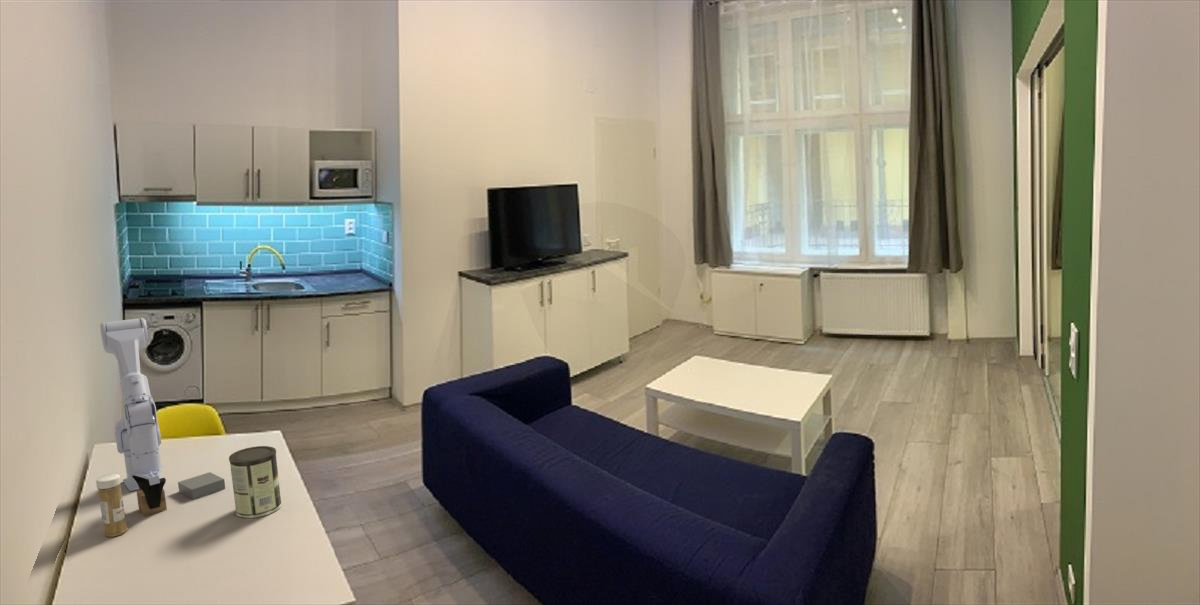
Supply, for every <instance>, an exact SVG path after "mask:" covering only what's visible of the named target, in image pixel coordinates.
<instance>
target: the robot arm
mask: <svg viewBox="0 0 1200 605" xmlns="http://www.w3.org/2000/svg"><path fill="white" fill-rule="evenodd" d="M99 326H100V335H101V336H100V337H101V342H102V345H103V350H104V352H105V353H107V354H113V355H114V356H115V359H116V360H117V364H118V372H119V378H120V389H121V395H122V396H121V397H122V400H123V407H122V415H123V416H122V418H120V419H119V420H118V421H116V423H115V426H114V430H115V432H114V434H115V436H114V437H115V442H116V449H117V452H118V453H119V454H122V455H124V456H123V458H124V464H125V466H124V467H125V471H126V478H124V479H123V480H122V481H123V483H124V484H125V486H126V487H127V489H128V491H129V492H132V491H133V492H134V491H136V490H139V489H142V491H143V493H144V495H145V497H146V501H147V504H148V506H149V508H150V509H154V508H157V507H160V503H161V494H162V489H164V487H165V484H166V481H167V479H166V478H165V477H162V476H161V472H162V470H163V465H162V464H161V455H160V445H161V444H162V435H161V430H160V425H159V422H158V415H157V414H158V413H157V407H156V403H155V401H154V398H153V395H152V394H151V390H150V385H149V380H148V377H147V376H146V375H145V374H143V373H141V363H140V351H141V350H142V349H145V348H147V345H148V339H149V333H148V332H149V331H148V324H147V321H146V319H145V318H144V317H139V318H133V319H131V318H130V319H124V320H123V319H122V320H114V321H107V322H105V321H102V322H101V323H100V325H99Z"/></svg>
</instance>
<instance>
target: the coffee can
mask: <svg viewBox="0 0 1200 605" xmlns="http://www.w3.org/2000/svg"><path fill="white" fill-rule="evenodd" d="M228 461H229V465H230V473H231V474H230V475H231V482H232V490H233V497H234V506H235V515H236V516H237V517H239V518H242V517H243V519H255V518H256V517H257V518H262V517H264V516H268V515H271V514H273V513H275V512H277V511H278V510H279V509H280V508H282V499H281V498H282V497H281V491H280V490H281V489H280V479H279V472H278V471H279V470H278V463H277V449H276V448H275V447H273V446H268V445H261V446H260V445H259V446H251V447H246V448H242V449H239V450H237V451H235V452H233V453H231V454H230V455H229V457H228Z"/></svg>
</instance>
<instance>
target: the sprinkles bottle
mask: <svg viewBox="0 0 1200 605" xmlns="http://www.w3.org/2000/svg"><path fill="white" fill-rule="evenodd" d="M95 481H96V482H95V483H96V488H97V490H98V497H99V506H100V507H99V508H100V512H101V519H102V520H101V521H102V523H103V529H104V532H103V535H104V536H105V537H108V538H111V537H117V536H120V535H123V534H124V533H126V532H127V531H128V526H127V522H126V512H125V506H124V499H123V494H122V488H121V487H122V486H121V482H122V480H121V476H120V474H118V473H110V474H105V475H104V474H103V475H102V476H99V477H97V478H96V480H95Z"/></svg>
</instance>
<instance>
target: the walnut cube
mask: <svg viewBox="0 0 1200 605" xmlns="http://www.w3.org/2000/svg"><path fill="white" fill-rule="evenodd" d="M135 491H136V497H137V499H136V500H137V505H138V510H139V512H140V513H141V515H142V517H145V516H148V515H152V514H156V513H160V512H163V511H167V509H168V507H167V500H166V499H167V498H166V492H165V489H164V488H163V489H162V494H161V503H160V507H157V508H154V509H150V508H149V506H148V504H147V501H146V497H145V495H144V493H143V491H142V489H137V490H135Z"/></svg>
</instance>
